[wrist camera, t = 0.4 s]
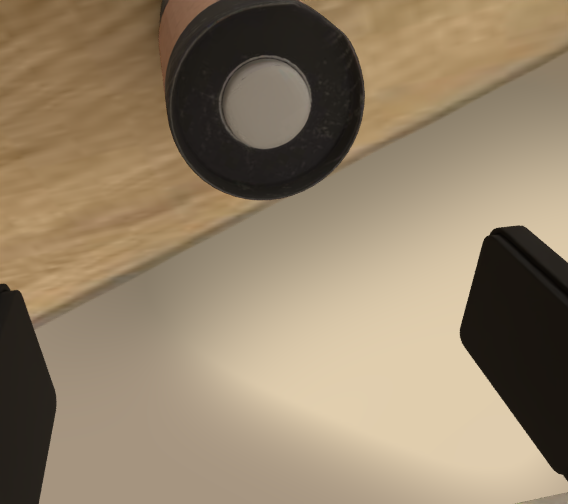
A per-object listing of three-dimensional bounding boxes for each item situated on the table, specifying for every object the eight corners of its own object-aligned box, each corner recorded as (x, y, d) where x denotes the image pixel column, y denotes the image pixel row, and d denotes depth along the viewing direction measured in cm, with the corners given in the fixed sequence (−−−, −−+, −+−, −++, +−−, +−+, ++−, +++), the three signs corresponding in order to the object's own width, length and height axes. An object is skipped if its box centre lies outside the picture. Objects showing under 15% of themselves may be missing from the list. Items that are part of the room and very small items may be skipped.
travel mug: (179, 88, 37) (204, 227, 21) (138, -28, 33) (128, 36, 17) (280, 57, 38) (380, 171, 21) (252, -62, 33) (352, -32, 17)
